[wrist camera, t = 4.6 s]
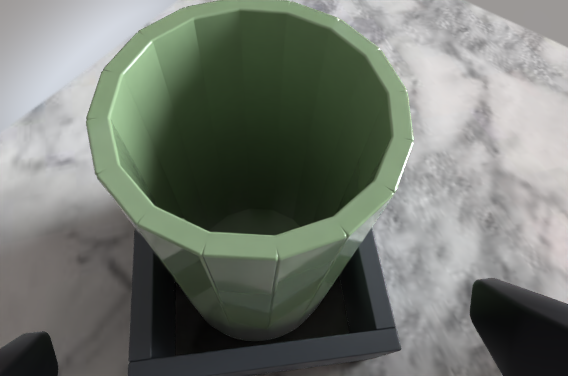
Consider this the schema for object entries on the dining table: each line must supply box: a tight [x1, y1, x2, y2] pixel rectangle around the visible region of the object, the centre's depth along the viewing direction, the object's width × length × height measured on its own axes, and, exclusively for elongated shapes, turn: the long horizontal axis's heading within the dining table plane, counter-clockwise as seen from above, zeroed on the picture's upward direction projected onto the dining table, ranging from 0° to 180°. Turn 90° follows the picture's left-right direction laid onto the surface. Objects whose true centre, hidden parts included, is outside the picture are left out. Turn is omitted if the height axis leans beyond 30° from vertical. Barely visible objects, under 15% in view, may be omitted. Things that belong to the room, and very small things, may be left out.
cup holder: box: [128, 228, 401, 376], centre depth 18 cm, size 10×10×4 cm
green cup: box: [86, 0, 414, 341], centre depth 15 cm, size 7×7×13 cm
